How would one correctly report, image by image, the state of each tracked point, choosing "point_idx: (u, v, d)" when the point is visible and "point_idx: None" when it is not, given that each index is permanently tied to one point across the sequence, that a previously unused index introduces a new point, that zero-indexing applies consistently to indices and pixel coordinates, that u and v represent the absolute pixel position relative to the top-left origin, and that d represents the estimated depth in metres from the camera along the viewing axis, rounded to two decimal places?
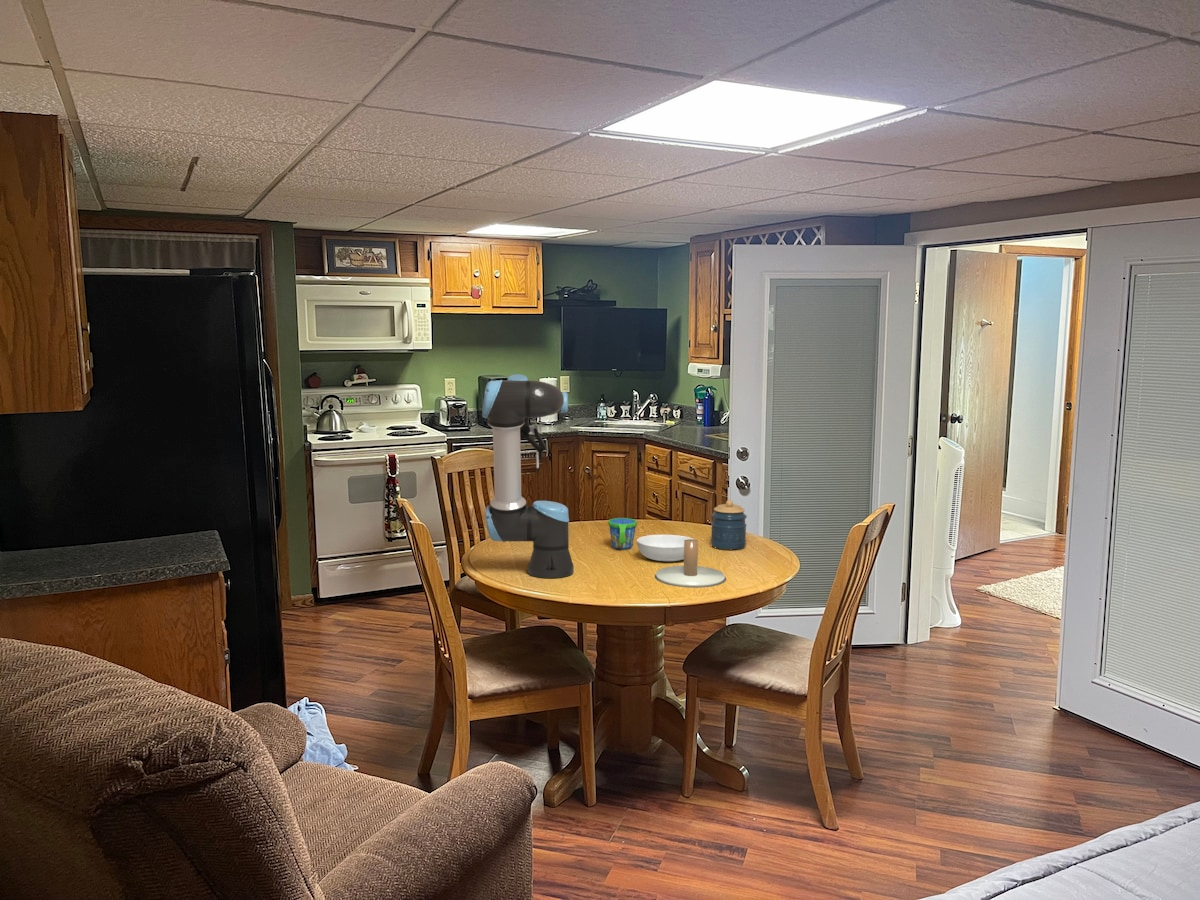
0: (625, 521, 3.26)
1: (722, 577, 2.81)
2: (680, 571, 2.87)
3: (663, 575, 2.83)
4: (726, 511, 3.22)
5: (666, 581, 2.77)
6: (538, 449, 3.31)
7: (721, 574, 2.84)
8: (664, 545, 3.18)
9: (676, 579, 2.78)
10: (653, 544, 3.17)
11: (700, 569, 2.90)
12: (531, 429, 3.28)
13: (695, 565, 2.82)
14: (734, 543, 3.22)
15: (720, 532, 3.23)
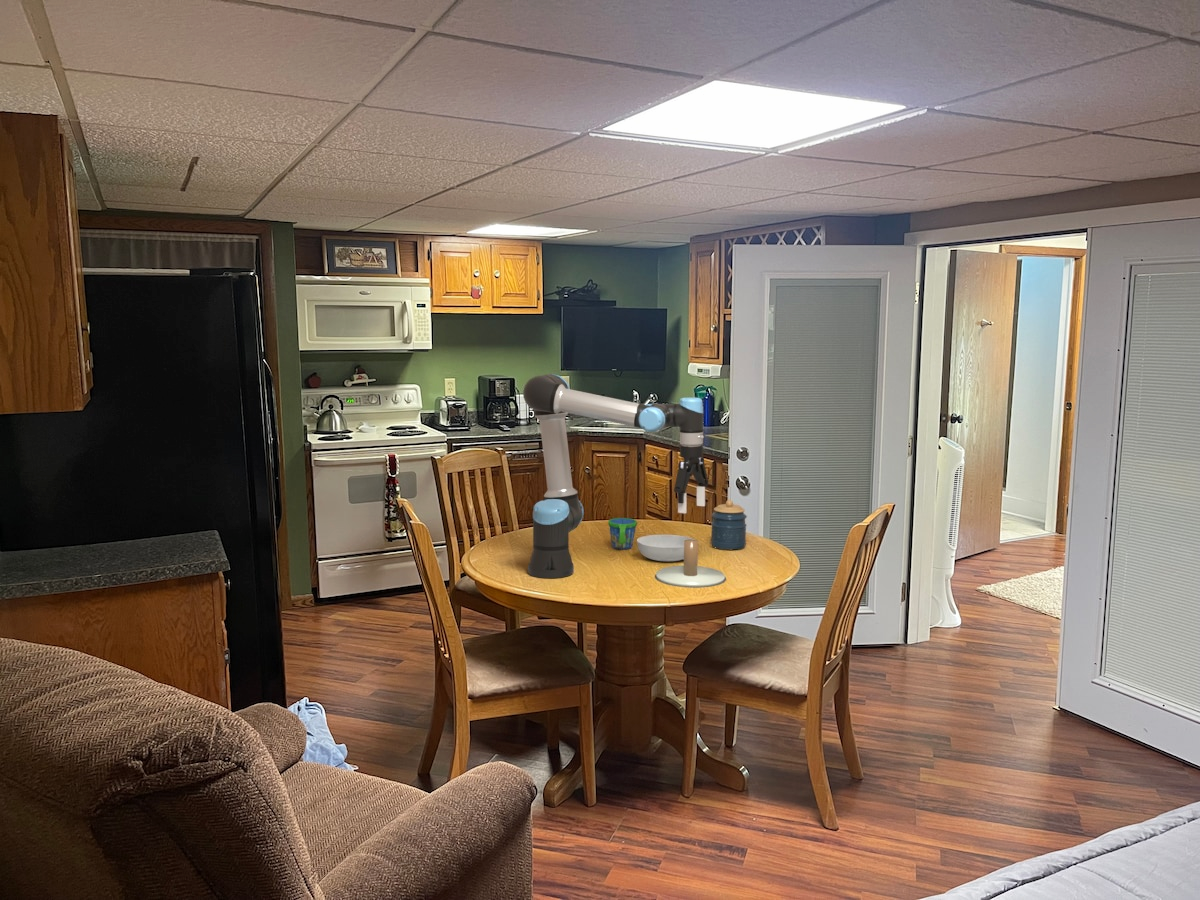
0: (625, 521, 3.26)
1: (722, 577, 2.81)
2: (680, 571, 2.87)
3: (663, 575, 2.83)
4: (726, 511, 3.22)
5: (666, 581, 2.77)
6: None
7: (721, 574, 2.84)
8: (664, 545, 3.18)
9: (676, 579, 2.78)
10: (653, 544, 3.17)
11: (700, 569, 2.90)
12: None
13: (695, 565, 2.82)
14: (734, 543, 3.22)
15: (720, 532, 3.23)
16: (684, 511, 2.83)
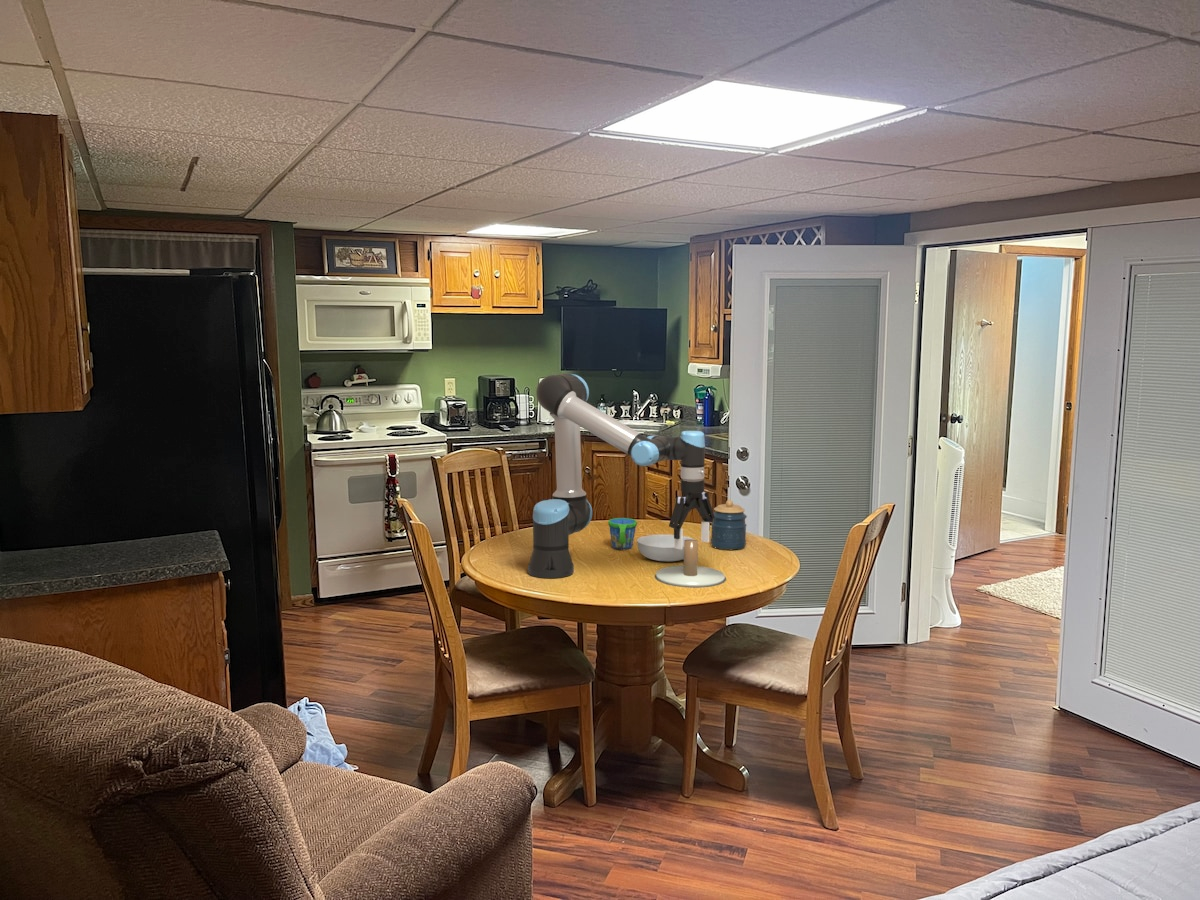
0: (625, 521, 3.26)
1: (722, 577, 2.81)
2: (680, 571, 2.87)
3: (663, 575, 2.83)
4: (726, 511, 3.22)
5: (666, 581, 2.77)
6: None
7: (721, 574, 2.84)
8: (664, 545, 3.18)
9: (676, 579, 2.78)
10: (653, 544, 3.17)
11: (700, 569, 2.90)
12: None
13: (695, 565, 2.82)
14: (734, 543, 3.22)
15: (720, 532, 3.23)
16: (680, 547, 2.77)
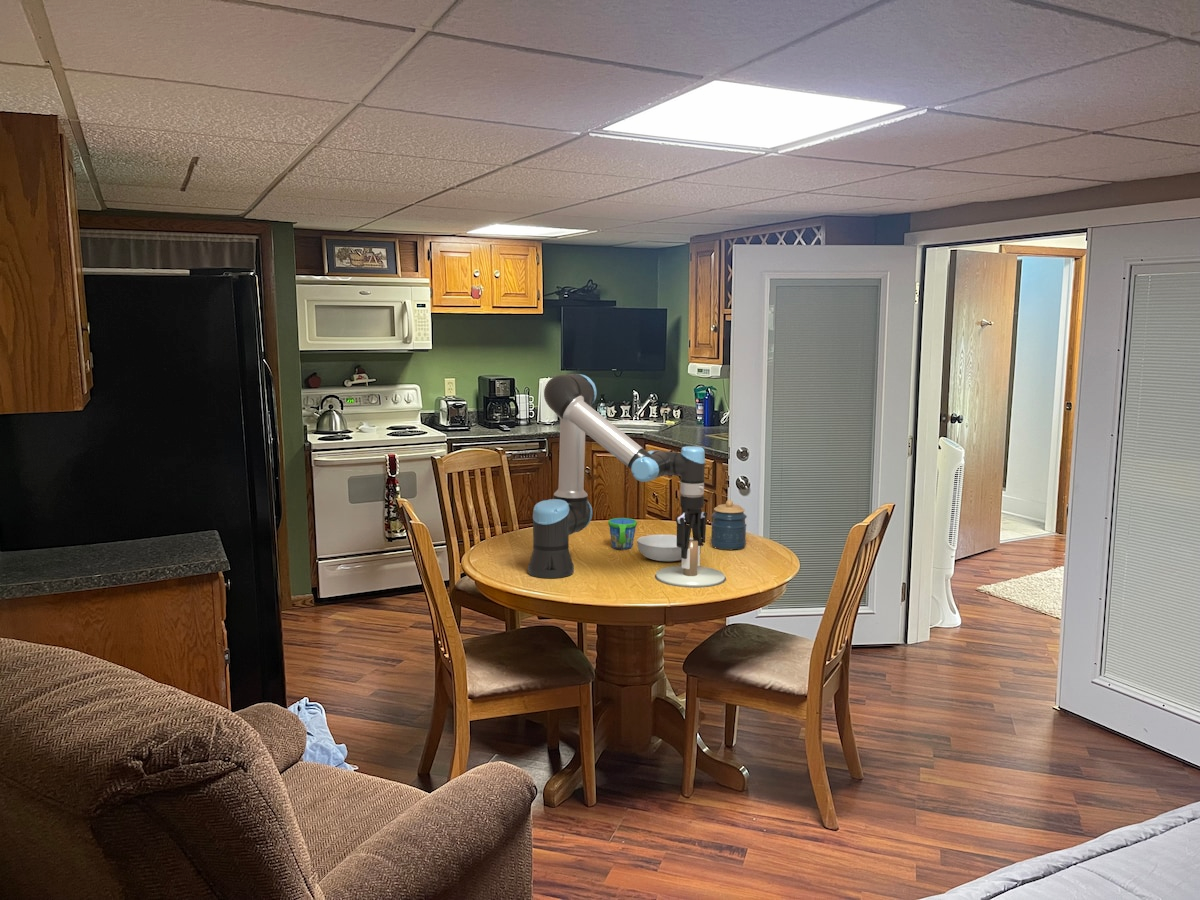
0: (625, 521, 3.26)
1: (722, 577, 2.81)
2: (680, 571, 2.87)
3: (663, 575, 2.83)
4: (726, 511, 3.22)
5: (666, 581, 2.77)
6: None
7: (721, 574, 2.84)
8: (664, 545, 3.18)
9: (676, 579, 2.78)
10: (653, 544, 3.17)
11: (700, 569, 2.90)
12: None
13: (695, 565, 2.82)
14: (734, 543, 3.22)
15: (720, 532, 3.23)
16: (687, 567, 2.81)
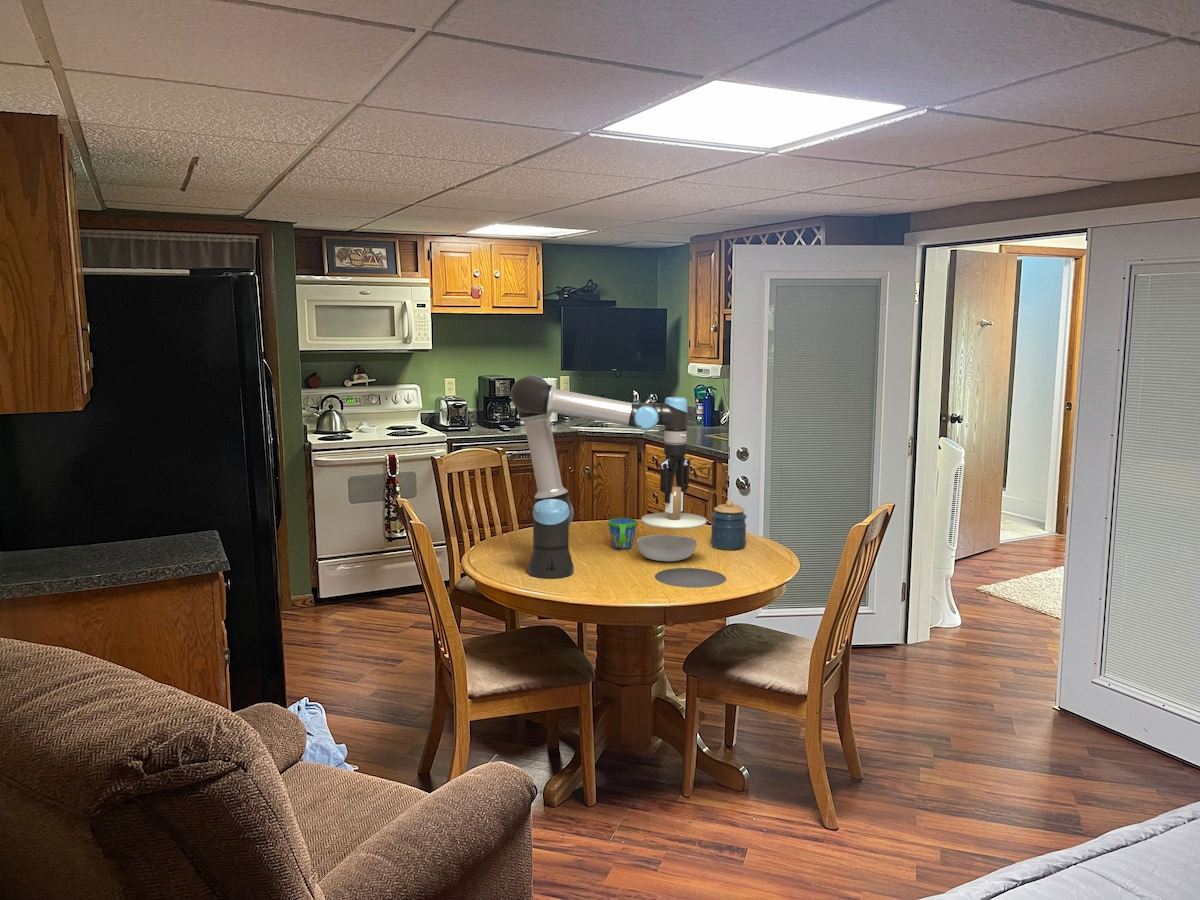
0: (625, 521, 3.26)
1: (703, 521, 2.96)
2: (664, 516, 3.03)
3: (647, 519, 2.99)
4: (726, 511, 3.22)
5: (650, 524, 2.93)
6: None
7: (703, 519, 3.00)
8: (664, 545, 3.18)
9: (660, 522, 2.94)
10: (653, 544, 3.17)
11: (684, 515, 3.06)
12: None
13: (678, 510, 2.98)
14: (734, 543, 3.22)
15: (720, 532, 3.23)
16: (670, 511, 2.97)
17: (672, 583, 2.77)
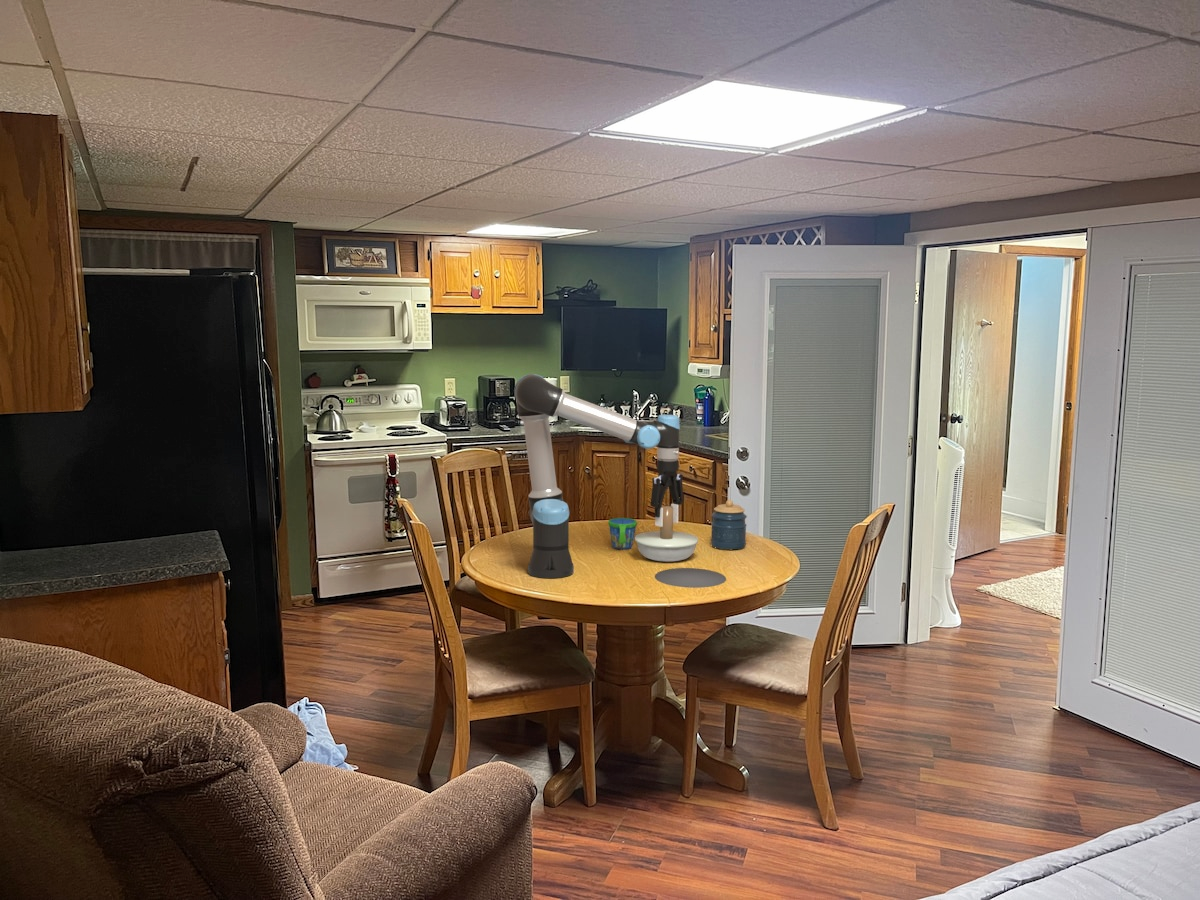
0: (625, 521, 3.26)
1: (695, 540, 3.05)
2: (657, 535, 3.11)
3: (641, 538, 3.08)
4: (726, 511, 3.22)
5: (643, 543, 3.02)
6: None
7: (695, 538, 3.08)
8: None
9: (653, 541, 3.03)
10: None
11: (676, 534, 3.15)
12: None
13: (670, 529, 3.06)
14: (734, 543, 3.22)
15: (720, 532, 3.23)
16: (660, 524, 3.04)
17: (672, 583, 2.77)
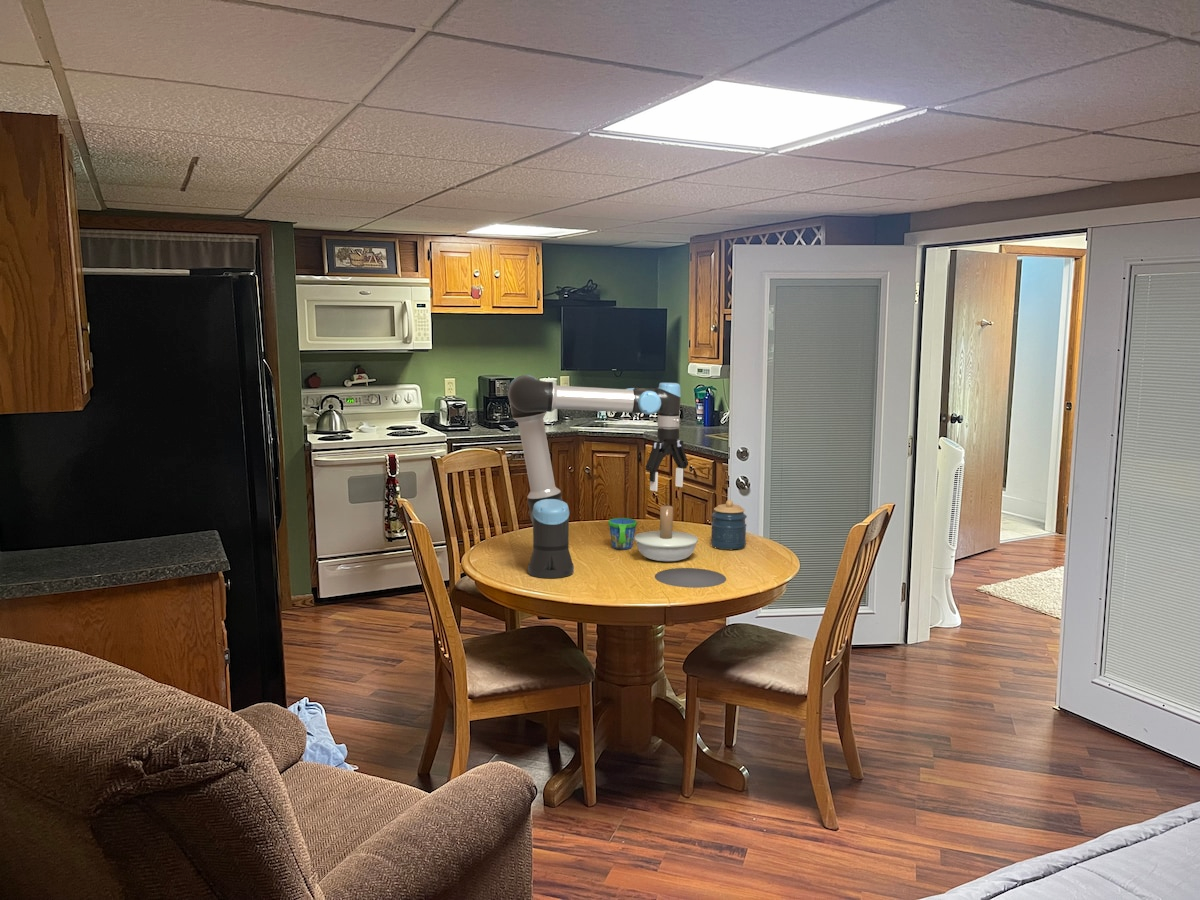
0: (625, 521, 3.26)
1: (695, 540, 3.05)
2: (656, 535, 3.12)
3: (640, 538, 3.08)
4: (726, 511, 3.22)
5: (643, 543, 3.02)
6: None
7: (695, 537, 3.09)
8: None
9: (653, 541, 3.03)
10: None
11: (675, 533, 3.15)
12: None
13: (670, 529, 3.07)
14: (734, 543, 3.22)
15: (720, 532, 3.23)
16: (655, 489, 3.00)
17: (672, 583, 2.77)
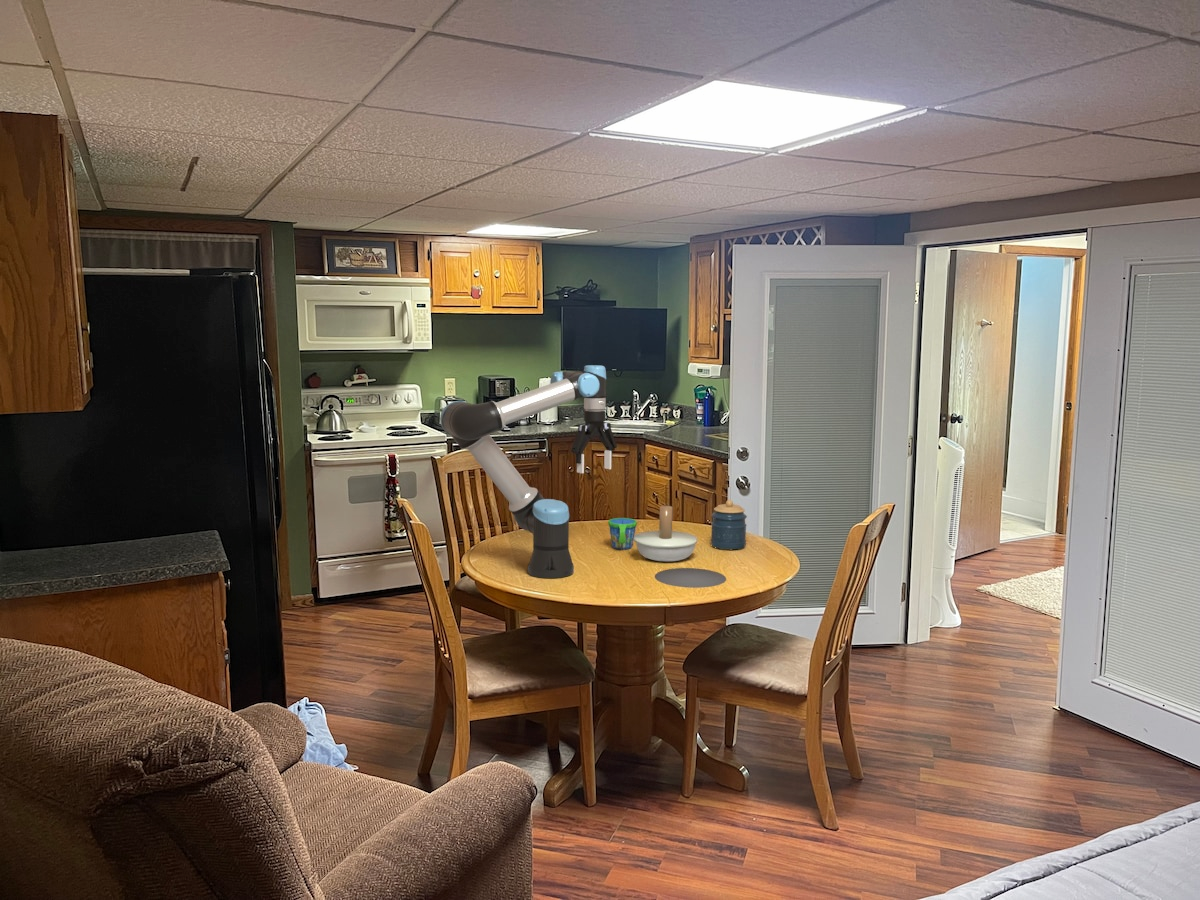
0: (625, 521, 3.26)
1: (694, 539, 3.06)
2: (656, 535, 3.12)
3: (640, 538, 3.07)
4: (726, 511, 3.22)
5: (643, 543, 3.01)
6: None
7: (694, 537, 3.09)
8: None
9: (652, 541, 3.03)
10: None
11: (675, 533, 3.15)
12: None
13: (670, 529, 3.07)
14: (734, 543, 3.22)
15: (720, 532, 3.23)
16: (581, 471, 3.02)
17: (672, 583, 2.77)
